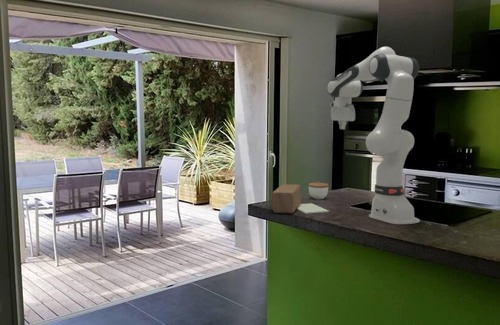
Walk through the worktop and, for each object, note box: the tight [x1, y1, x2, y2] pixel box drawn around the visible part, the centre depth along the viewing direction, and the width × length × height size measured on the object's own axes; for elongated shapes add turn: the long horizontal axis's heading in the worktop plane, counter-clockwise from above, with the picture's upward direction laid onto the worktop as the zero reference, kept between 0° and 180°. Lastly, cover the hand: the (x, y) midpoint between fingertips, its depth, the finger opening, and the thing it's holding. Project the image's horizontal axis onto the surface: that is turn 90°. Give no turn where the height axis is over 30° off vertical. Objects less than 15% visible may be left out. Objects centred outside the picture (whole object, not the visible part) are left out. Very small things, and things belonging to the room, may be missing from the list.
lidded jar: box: [308, 180, 329, 200], centre depth 247 cm, size 11×11×9 cm
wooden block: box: [271, 183, 302, 214], centre depth 219 cm, size 10×10×20 cm
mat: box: [296, 202, 330, 215], centre depth 220 cm, size 18×12×1 cm, turn 19°
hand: (342, 129), depth 250 cm, fingers closed
